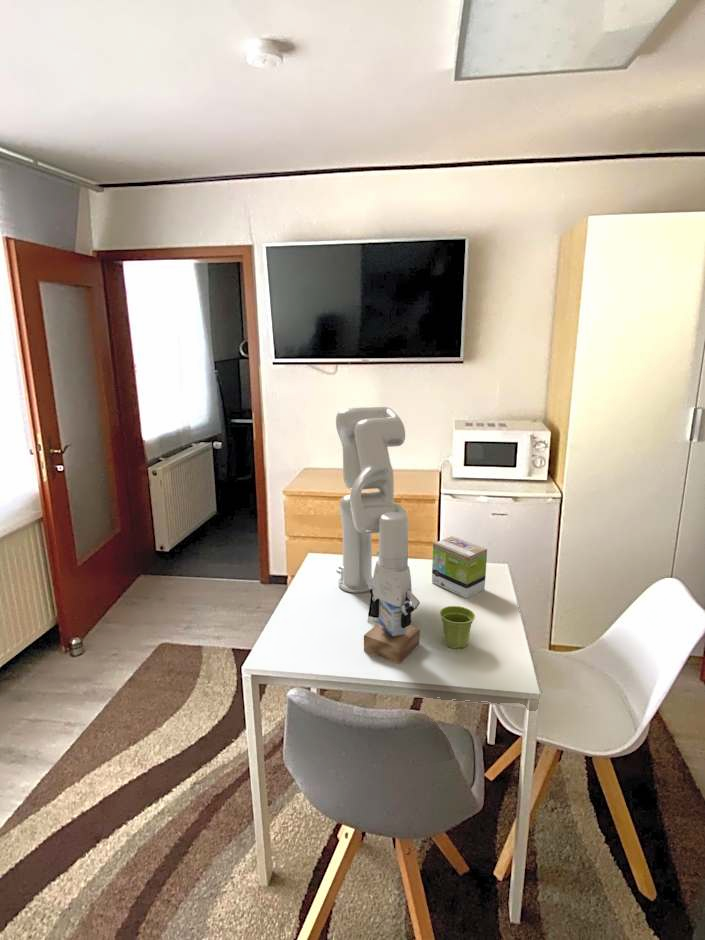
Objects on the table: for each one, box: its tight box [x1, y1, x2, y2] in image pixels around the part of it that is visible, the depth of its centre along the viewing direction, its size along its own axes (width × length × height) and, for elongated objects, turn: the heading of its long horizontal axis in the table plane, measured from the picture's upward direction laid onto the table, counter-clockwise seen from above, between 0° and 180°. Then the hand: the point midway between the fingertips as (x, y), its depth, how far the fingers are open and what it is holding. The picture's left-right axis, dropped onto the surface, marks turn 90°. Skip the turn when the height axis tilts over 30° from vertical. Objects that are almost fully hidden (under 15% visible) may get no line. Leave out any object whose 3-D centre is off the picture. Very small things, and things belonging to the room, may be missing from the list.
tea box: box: [431, 536, 488, 599], centre depth 188 cm, size 15×10×15 cm
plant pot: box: [439, 605, 476, 649], centre depth 156 cm, size 9×9×9 cm
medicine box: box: [378, 599, 407, 636], centre depth 153 cm, size 8×4×9 cm, turn 25°
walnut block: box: [363, 622, 421, 665], centre depth 154 cm, size 11×11×5 cm
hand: (392, 619), depth 153 cm, fingers closed on medicine box, 9 cm apart
